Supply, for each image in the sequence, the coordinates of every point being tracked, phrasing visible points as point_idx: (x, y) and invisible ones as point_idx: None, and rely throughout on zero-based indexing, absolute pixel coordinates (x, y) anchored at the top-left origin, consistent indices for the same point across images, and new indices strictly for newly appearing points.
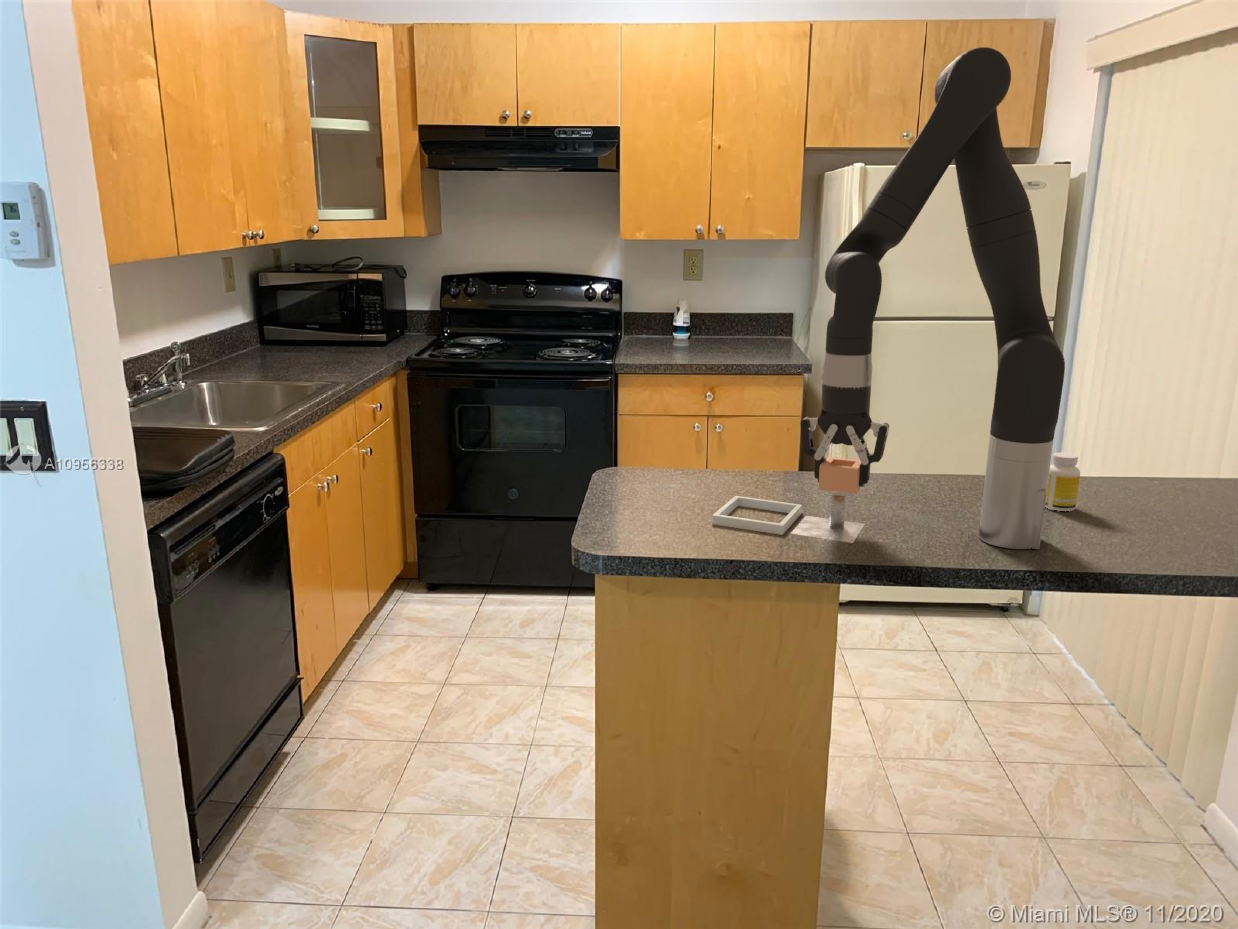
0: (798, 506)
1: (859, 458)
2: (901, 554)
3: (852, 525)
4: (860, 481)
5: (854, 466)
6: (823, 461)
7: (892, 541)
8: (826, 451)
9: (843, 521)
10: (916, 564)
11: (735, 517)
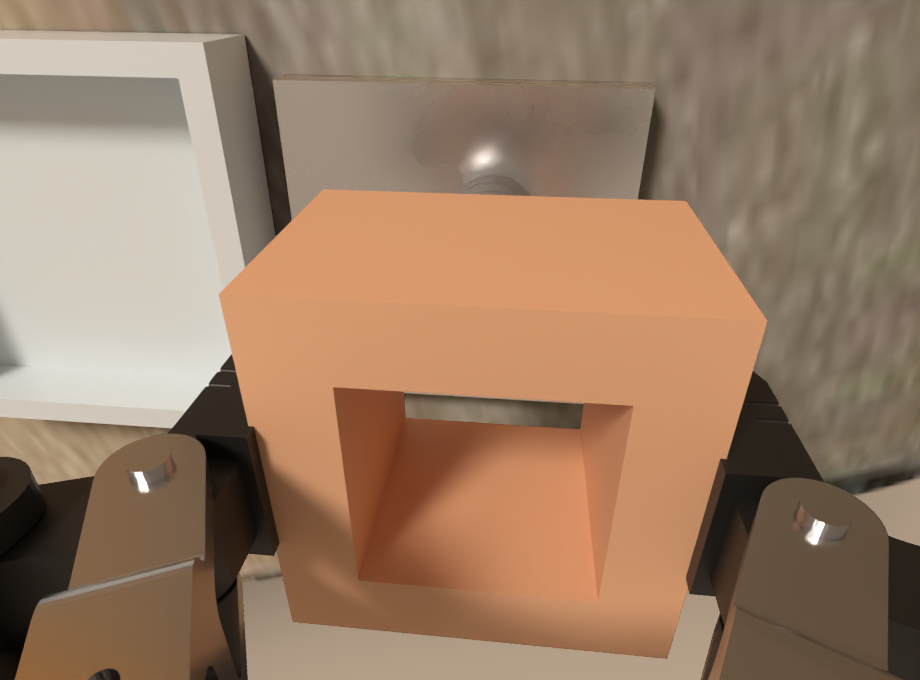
0: (199, 96)
1: (702, 674)
2: (826, 376)
3: (578, 156)
4: None
5: (629, 589)
6: (271, 524)
7: (804, 221)
8: (206, 499)
9: None
10: (875, 456)
11: (42, 408)
